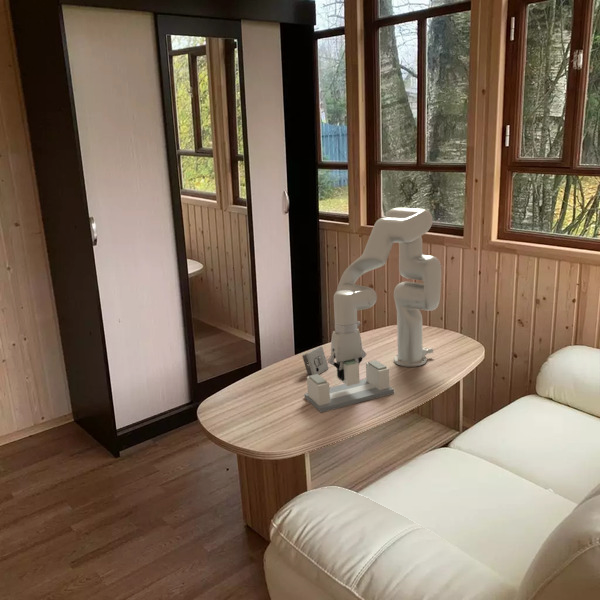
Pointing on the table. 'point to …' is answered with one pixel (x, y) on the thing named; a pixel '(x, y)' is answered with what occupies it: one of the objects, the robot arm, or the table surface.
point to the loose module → (350, 372)
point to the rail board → (350, 395)
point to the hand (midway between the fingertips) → (348, 377)
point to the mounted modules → (374, 375)
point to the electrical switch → (315, 361)
